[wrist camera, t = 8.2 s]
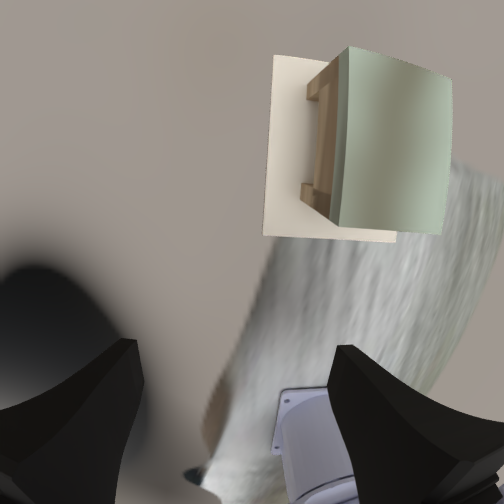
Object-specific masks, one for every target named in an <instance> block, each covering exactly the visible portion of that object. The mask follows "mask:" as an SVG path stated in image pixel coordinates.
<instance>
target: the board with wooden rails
mask: <svg viewBox="0 0 504 504" xmlns="http://www.w3.org/2000/svg"><path fill="white" fill-rule="evenodd" d="M306 100H311V101H318V102H319V105H318V125H317V142H316V157H315V170H314V183H313V184H309V183H301V192H300V200H301V201H303V202H304V203H305V204H307V205H308V206H310V207H311V208H313V209H314V210H315V211H317V212H318V213H320V214H321V215H322V216H324V217H325V218H327V219H328V220H329V221H331V222H332V223H334V224H335V225H336V226H338V227H347V228H361V229H375V230H389V231H401V232H413V233H425V234H436V235H441V231H442V225H443V219H444V213H445V206H446V199H447V191H448V183H449V173H450V161H451V146H452V79H449V78H447V77H445V76H442V75H440V74H437V73H435V72H432V71H430V70H427V69H424V68H422V67H419V66H416V65H413V64H410V63H408V62H404V61H402V60H399V59H395V58H392V57H389V56H386V55H382V54H379V53H375V52H371V51H367V50H364V49H360V48H356V47H351V46H348V47H347V48H346V49H345V50H344V51H343V52H342V53H340V54H339V55H338V56H337V57H336V58H335V59H334V60H333V61H332V62H331V63H329V64H328V65H327V66H326V67H325V68H324V69H323V70H322V71H321V72H320V73H319V74H317V75H316V76H315V77H314V78H313V79H312V80H311V81H310V82H309V83H308V84H307V97H306Z"/></svg>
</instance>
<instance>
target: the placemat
mask: <svg viewBox="0 0 504 504" xmlns="http://www.w3.org/2000/svg"><path fill="white" fill-rule="evenodd" d="M328 64H329V63H328V62H323V61H317V60H311V59H304V58H297V57H289V56H281V55H274V56H273V68H272V84H271V85H272V86H271V101H270V119H269V134H268V150H267V151H268V152H267V167H266V181H265V196H264V211H263V226H262V235H263V236H281V237H302V238H321V239H339V240H357V241H374V242H390V243H395V241H396V235H397V231H389V230H375V229H361V228H347V227H338V226H336V225H335V224H334V223H332V222H331V221H329V220H328V219H327V218H325V217H324V216H322V215H321V214H320V213H318V212H317V211H315V210H314V209H313V208H311V207H310V206H308V205H307V204H305V203H304V202H303V201H301V200H300V192H301V183H309V184H313V183H314V170H315V157H316V142H317V125H318V105H319V102H318V101H311V100H306V97H307V84H308V83H309V82H310V81H311V80H312V79H313V78H314V77H315V76H316V75H317V74H319V73H320V72H321V71H322V70H323V69H324V68H325V67H326V66H327V65H328Z"/></svg>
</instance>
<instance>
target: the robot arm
mask: <svg viewBox="0 0 504 504" xmlns="http://www.w3.org/2000/svg"><path fill="white" fill-rule="evenodd" d="M143 386H144V377H143V372H142V367H141V362H140V356H139V350H138V344H137V340H133V339H125V338H121V339H119V340H118V341H117V342H115V343H114V344H113V345H112V346H110V347H109V348H108V349H107V350H105V351H104V352H103V353H102V354H100V355H99V356H98V357H97V358H95V359H94V360H93V361H91V362H90V363H89V364H88V365H86V366H85V367H84V368H82V369H81V370H79V371H78V372H77V373H75V374H73V375H72V376H71V377H69V378H68V379H66V380H65V381H64V382H62V383H60V384H58V385H57V386H55V387H53V388H52V389H50V390H48V391H46V392H44V393H42V394H41V395H38V396H36V397H34V398H31V399H30V400H27V401H25V402H22V403H20V404H18V405H15V406H12V407H9V408H6V409H3V410H0V504H115V496H116V488H117V481H118V475H119V469H120V464H121V459H122V455H123V452H124V448H125V446H126V442H127V440H128V437H129V434H130V431H131V428H132V425H133V422H134V419H135V417H136V414H137V411H138V408H139V405H140V401H141V396H142V391H143ZM286 399H288V400H286ZM271 454H272V455H281V456H282V462H283V469H284V475H285V482H286V488H287V494H288V499H289V501H290V503H289V504H504V484H503V485H502V486H500V487H499V488H498V487H497V485H496V484H495V483H496V482H498V481H499V477H498V475H497V473H496V472H497V471H498V470H499V469H500V468H501V467H502V466H503V465H504V423H503V422H497V421H492V420H486V419H482V418H478V417H474V416H471V415H468V414H465V413H462V412H459V411H456V410H454V409H451V408H449V407H446V406H444V405H442V404H440V403H438V402H436V401H434V400H432V399H430V398H428V397H426V396H424V395H422V394H420V393H419V392H417V391H415V390H414V389H412V388H411V387H409V386H408V385H406V384H405V383H403V382H402V381H400V380H399V379H397V378H396V377H394V376H393V375H392V374H390V373H389V372H388V371H386V370H385V369H384V368H382V367H381V366H380V365H379V364H377V363H376V362H375V361H373V360H372V359H371V358H370V357H368V356H367V355H366V354H365V353H363V352H362V351H361V350H359V349H358V348H357V347H355V346H354V345H337V348H336V352H335V356H334V360H333V364H332V368H331V372H330V375H329V379H328V383H327V388H318V389H300V390H285V391H283V392H282V394H281V398H280V404H279V410H278V415H277V421H276V426H275V431H274V436H273V442H272V447H271Z"/></svg>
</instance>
